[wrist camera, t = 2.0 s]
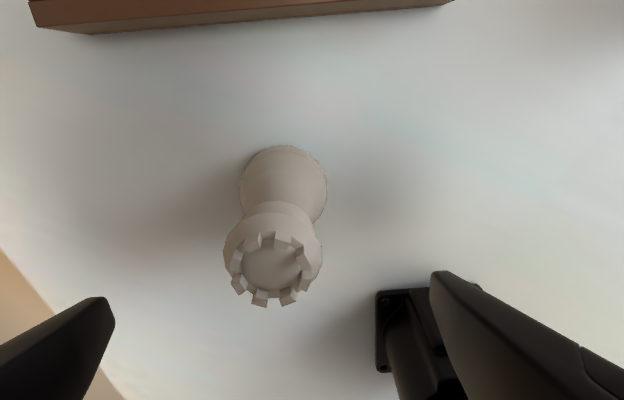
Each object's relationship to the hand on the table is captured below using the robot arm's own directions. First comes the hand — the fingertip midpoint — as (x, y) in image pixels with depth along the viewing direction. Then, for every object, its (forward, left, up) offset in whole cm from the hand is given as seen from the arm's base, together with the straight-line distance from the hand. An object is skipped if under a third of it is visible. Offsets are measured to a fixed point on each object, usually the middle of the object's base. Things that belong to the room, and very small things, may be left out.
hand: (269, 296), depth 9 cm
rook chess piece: (0, 0, -9) cm, 9 cm away
